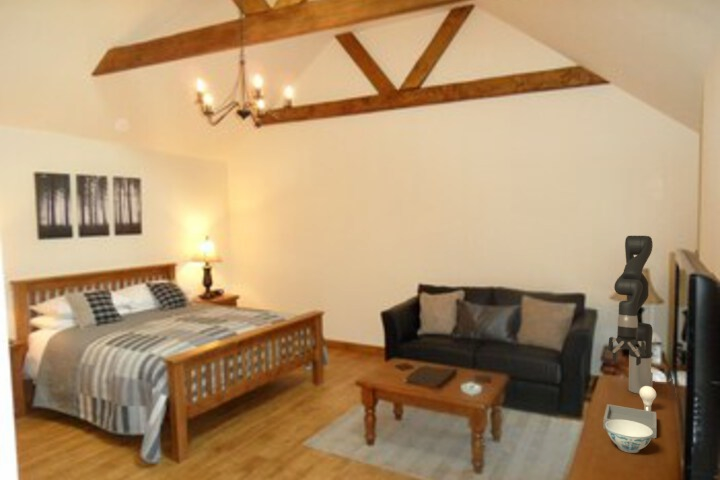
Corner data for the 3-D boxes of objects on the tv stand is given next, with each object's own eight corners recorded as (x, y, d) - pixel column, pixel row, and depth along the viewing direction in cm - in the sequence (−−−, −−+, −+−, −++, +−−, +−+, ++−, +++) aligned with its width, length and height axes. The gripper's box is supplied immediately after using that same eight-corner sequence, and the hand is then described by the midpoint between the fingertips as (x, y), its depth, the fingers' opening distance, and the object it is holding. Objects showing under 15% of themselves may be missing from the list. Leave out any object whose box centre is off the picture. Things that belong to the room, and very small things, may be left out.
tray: (607, 413, 211) (607, 404, 210) (656, 421, 201) (656, 412, 201) (603, 428, 195) (603, 418, 195) (656, 438, 186) (656, 428, 186)
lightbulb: (640, 412, 211) (640, 387, 210) (638, 407, 217) (638, 383, 216) (657, 415, 208) (657, 389, 208) (654, 409, 214) (655, 384, 214)
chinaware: (599, 449, 178) (599, 428, 178) (613, 435, 189) (613, 416, 188) (645, 463, 168) (645, 440, 167) (657, 448, 178) (657, 427, 178)
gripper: (648, 326, 209) (647, 365, 209) (612, 322, 219) (611, 359, 219) (644, 328, 204) (643, 367, 204) (607, 324, 213) (606, 361, 213)
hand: (626, 363), depth 211 cm, fingers open, 8 cm apart
